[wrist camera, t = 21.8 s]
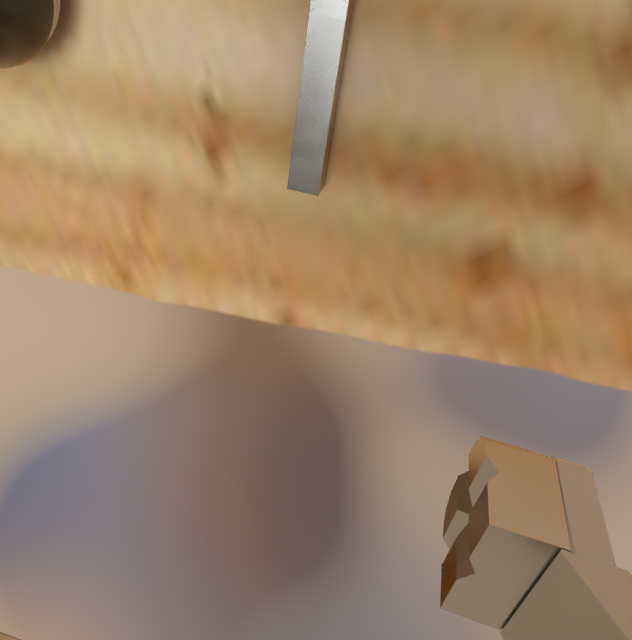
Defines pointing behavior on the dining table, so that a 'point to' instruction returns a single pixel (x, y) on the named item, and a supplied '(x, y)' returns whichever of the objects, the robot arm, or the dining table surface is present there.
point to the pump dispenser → (25, 29)
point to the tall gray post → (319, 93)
